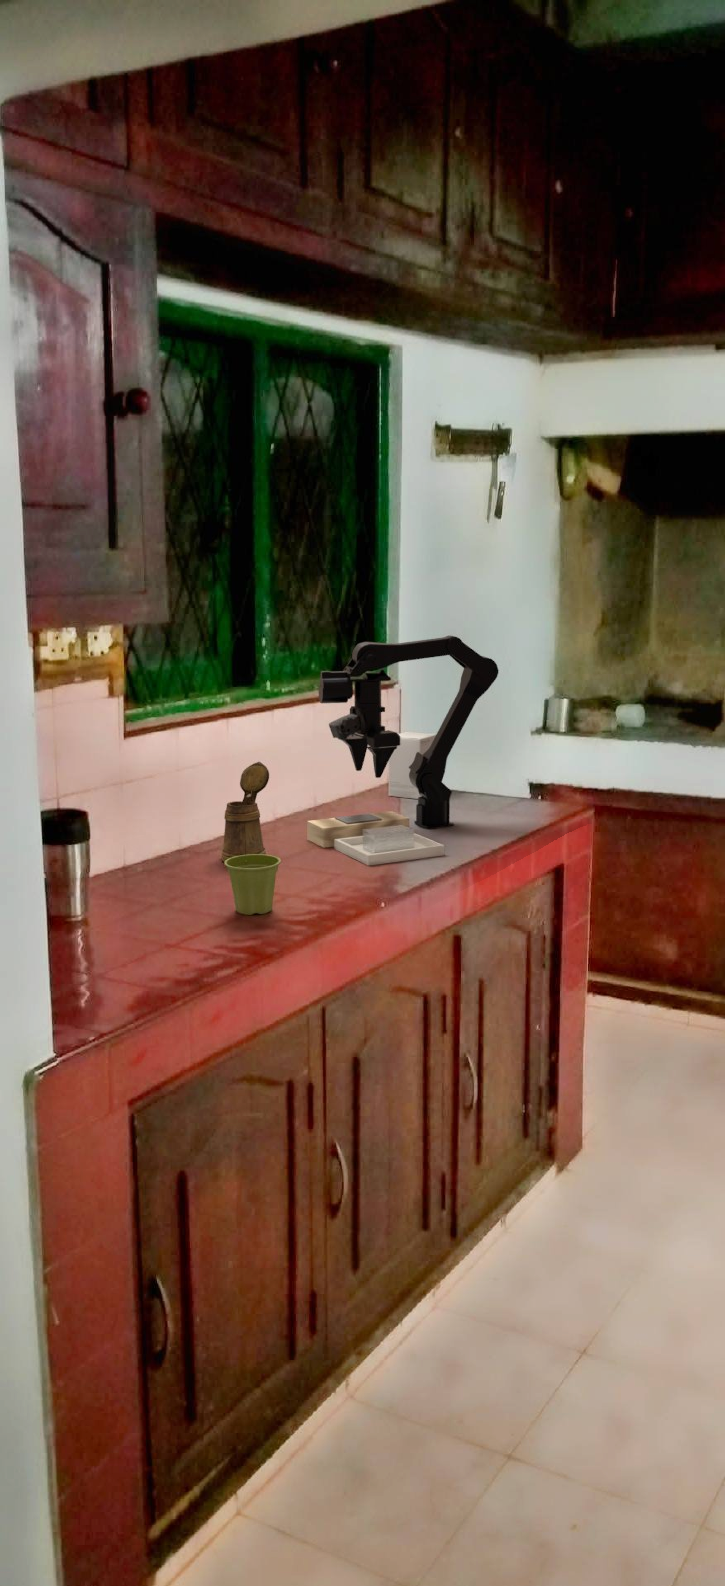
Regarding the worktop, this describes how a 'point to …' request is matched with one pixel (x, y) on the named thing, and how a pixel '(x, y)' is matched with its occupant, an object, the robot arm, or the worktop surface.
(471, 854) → the worktop surface
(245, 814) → the wooden mug
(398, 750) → the supplement box
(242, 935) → the worktop surface
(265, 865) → the plant pot
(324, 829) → the light wood plank
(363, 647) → the robot arm
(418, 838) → the parts tray
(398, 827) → the light grey block
